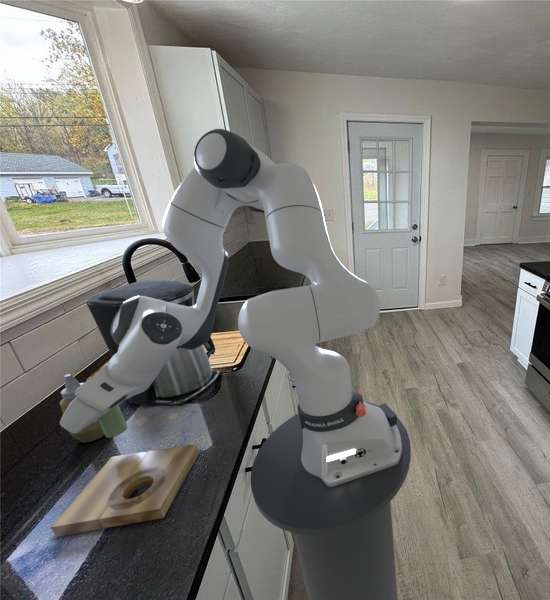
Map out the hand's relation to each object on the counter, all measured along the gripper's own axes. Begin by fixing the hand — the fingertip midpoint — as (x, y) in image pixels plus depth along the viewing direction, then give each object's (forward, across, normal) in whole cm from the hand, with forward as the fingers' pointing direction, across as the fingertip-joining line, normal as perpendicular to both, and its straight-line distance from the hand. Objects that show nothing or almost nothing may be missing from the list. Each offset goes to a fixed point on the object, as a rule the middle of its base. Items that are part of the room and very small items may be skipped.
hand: (105, 410), depth 71 cm
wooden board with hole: (0, +9, +17) cm, 20 cm away
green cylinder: (+4, 0, +5) cm, 6 cm away
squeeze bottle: (+18, -5, 0) cm, 19 cm away
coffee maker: (+15, -29, +2) cm, 33 cm away
